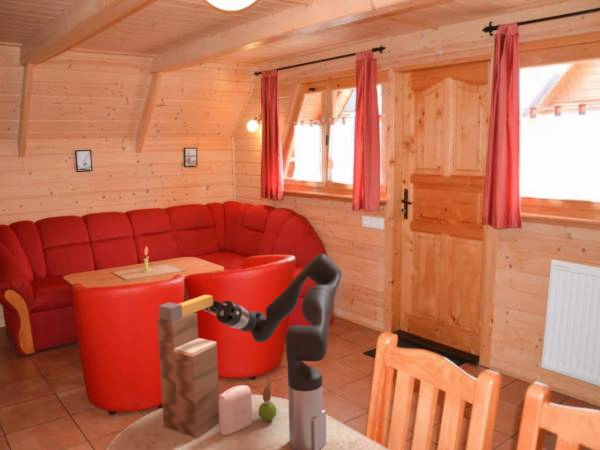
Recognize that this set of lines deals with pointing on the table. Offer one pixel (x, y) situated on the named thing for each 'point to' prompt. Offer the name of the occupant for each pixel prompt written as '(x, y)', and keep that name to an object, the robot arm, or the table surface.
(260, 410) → the green bud vase
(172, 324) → the step stand
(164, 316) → the bar
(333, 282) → the robot arm
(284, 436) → the table surface
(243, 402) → the pink rounded block
